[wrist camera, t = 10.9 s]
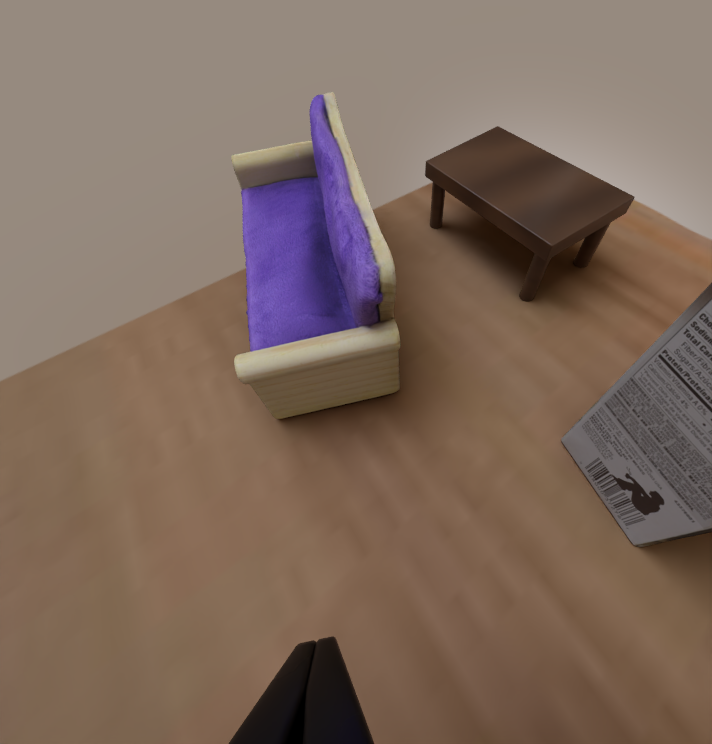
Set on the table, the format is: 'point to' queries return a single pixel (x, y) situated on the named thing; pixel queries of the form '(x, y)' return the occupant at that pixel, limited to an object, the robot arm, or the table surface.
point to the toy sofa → (315, 275)
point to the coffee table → (527, 197)
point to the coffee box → (656, 435)
